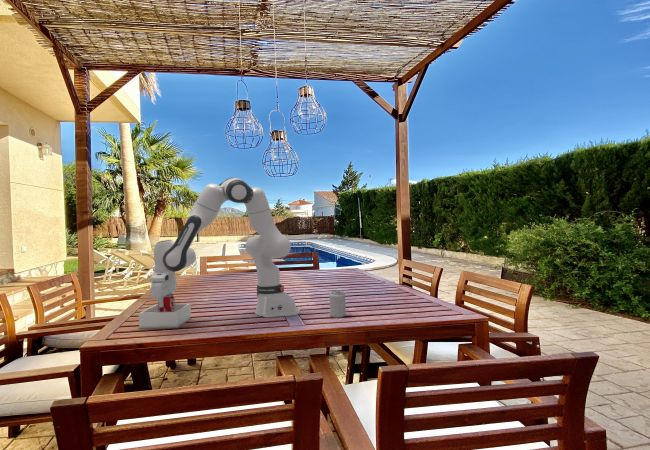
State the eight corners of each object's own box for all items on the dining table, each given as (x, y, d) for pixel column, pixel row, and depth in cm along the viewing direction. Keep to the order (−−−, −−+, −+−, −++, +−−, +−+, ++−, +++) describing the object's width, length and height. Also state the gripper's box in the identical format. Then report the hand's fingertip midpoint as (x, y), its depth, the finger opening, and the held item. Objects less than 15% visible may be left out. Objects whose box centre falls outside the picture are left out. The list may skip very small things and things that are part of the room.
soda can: (167, 323, 170) (169, 297, 169) (153, 321, 172) (155, 295, 171) (176, 318, 177) (178, 293, 176) (163, 316, 178) (164, 292, 178)
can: (347, 314, 182) (346, 290, 182) (343, 318, 175) (342, 293, 175) (332, 313, 184) (332, 289, 184) (327, 317, 177) (327, 292, 177)
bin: (191, 317, 183) (190, 303, 183) (177, 327, 166) (177, 312, 166) (155, 318, 182) (155, 304, 182) (139, 328, 165) (138, 313, 165)
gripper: (166, 272, 184) (167, 300, 184) (148, 278, 163) (148, 310, 164) (179, 271, 184) (180, 299, 184) (162, 278, 164) (163, 309, 164)
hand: (165, 304), depth 174 cm, fingers closed on soda can, 7 cm apart
